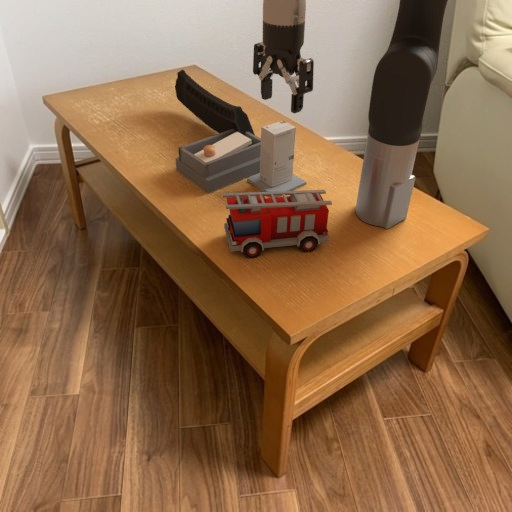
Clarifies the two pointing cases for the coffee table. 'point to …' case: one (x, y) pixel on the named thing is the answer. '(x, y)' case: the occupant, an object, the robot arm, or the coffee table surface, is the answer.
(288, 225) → the toy fire truck
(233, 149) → the white block with knob
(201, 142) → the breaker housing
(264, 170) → the skincare box
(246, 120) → the magazine
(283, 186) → the slate mat
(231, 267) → the coffee table surface
